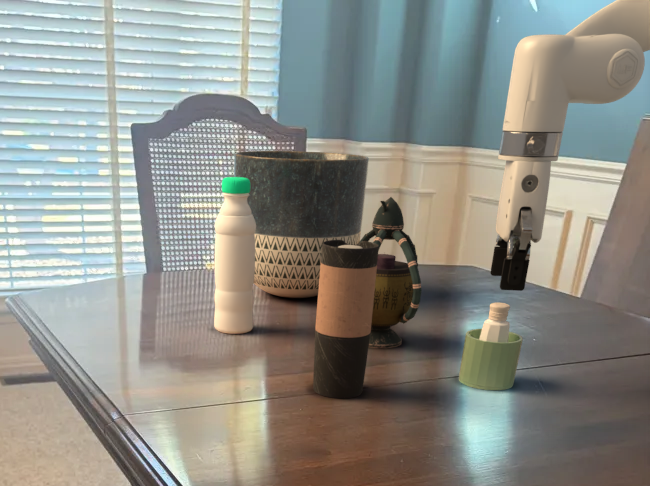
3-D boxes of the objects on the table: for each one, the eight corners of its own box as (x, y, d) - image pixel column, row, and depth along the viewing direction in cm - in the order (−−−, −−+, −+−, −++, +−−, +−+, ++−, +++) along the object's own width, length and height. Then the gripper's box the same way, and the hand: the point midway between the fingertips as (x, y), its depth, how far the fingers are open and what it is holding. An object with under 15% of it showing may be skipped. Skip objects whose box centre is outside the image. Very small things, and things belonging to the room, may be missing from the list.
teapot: (346, 354, 127) (360, 202, 116) (333, 317, 149) (343, 186, 137) (419, 356, 127) (440, 204, 116) (395, 319, 149) (411, 187, 137)
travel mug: (333, 402, 107) (346, 250, 97) (300, 387, 112) (309, 241, 102) (375, 393, 110) (392, 246, 100) (341, 379, 116) (353, 237, 106)
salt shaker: (464, 372, 119) (477, 299, 113) (500, 373, 118) (514, 300, 113) (472, 383, 114) (485, 307, 108) (509, 384, 114) (524, 309, 108)
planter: (213, 285, 172) (214, 150, 158) (319, 279, 181) (328, 151, 168) (262, 313, 151) (268, 159, 137) (379, 304, 160) (395, 159, 147)
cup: (508, 375, 119) (517, 330, 116) (517, 392, 112) (526, 344, 109) (456, 372, 120) (463, 327, 117) (461, 388, 113) (469, 341, 110)
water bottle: (206, 328, 139) (206, 176, 127) (235, 322, 144) (238, 175, 131) (231, 337, 135) (233, 180, 122) (261, 330, 139) (266, 178, 127)
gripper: (574, 152, 93) (545, 297, 101) (546, 144, 108) (523, 271, 116) (510, 150, 94) (486, 294, 102) (491, 143, 109) (472, 269, 117)
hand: (506, 282), depth 109 cm, fingers open, 9 cm apart
